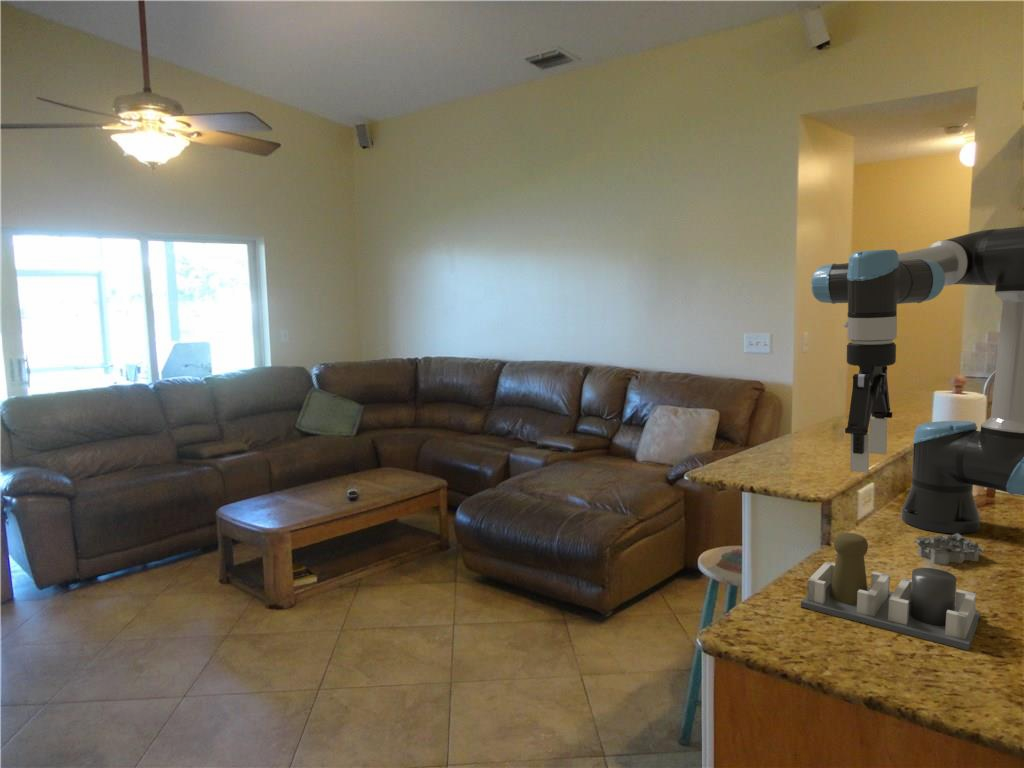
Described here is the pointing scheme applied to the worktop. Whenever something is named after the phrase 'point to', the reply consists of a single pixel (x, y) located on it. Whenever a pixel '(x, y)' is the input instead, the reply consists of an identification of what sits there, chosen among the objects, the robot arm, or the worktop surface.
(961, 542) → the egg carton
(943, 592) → the socket board
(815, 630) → the worktop surface
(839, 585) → the cork
